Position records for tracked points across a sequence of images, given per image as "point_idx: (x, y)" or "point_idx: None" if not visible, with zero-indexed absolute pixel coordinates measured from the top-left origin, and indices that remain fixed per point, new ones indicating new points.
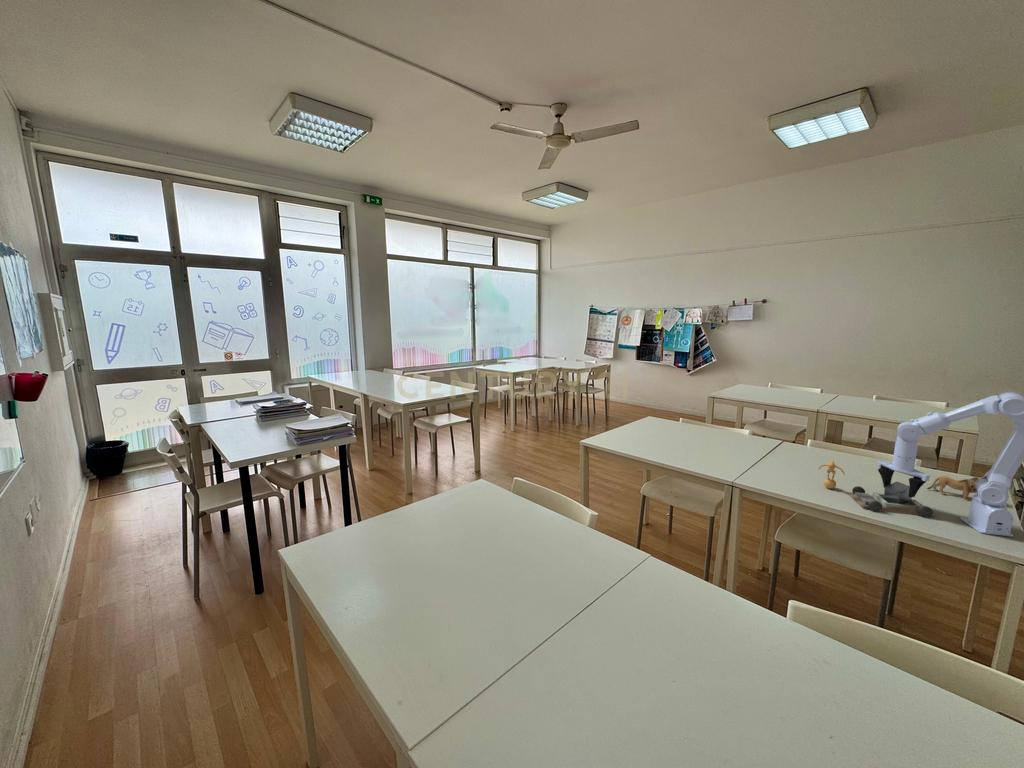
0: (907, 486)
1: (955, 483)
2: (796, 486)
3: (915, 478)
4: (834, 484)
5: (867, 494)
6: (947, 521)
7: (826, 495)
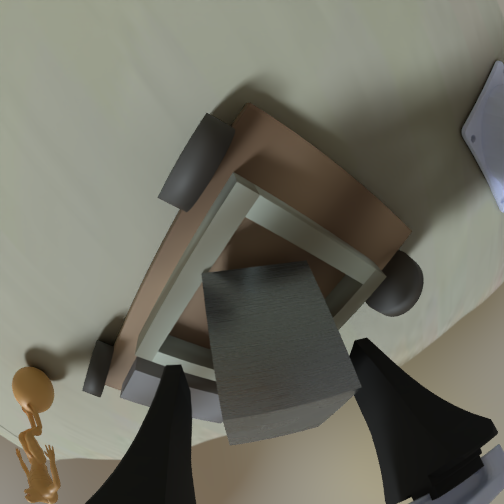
0: (333, 401)
1: None
2: (53, 422)
3: (424, 490)
4: (49, 399)
5: (149, 380)
6: (440, 216)
7: (110, 418)
